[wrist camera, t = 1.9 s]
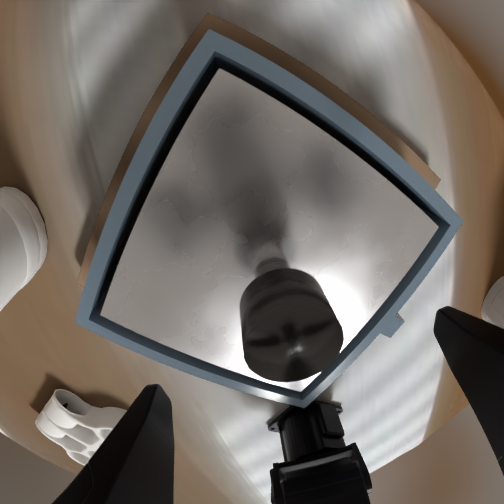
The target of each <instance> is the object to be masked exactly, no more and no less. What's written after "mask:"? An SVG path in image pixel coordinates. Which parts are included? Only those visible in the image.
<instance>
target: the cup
mask: <svg viewBox="0 0 504 504" xmlns="http://www.w3.org/2000/svg"><path fill="white" fill-rule="evenodd" d="M481 316H482V318H483V319H484V320H485V321H487V322H489V323H491V324H494V325H496V326H499V327H501V328H503V329H504V276H502V277H501V278H499V279H498V280H497V281H496V282H495V283H494V285H493V286H492V287H491V288H490V290H489V292H488V293H487V295H486V297H485V299H484V301H483V304H482V308H481Z"/></svg>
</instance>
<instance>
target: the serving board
mask: <svg viewBox="0 0 504 504" xmlns="http://www.w3.org/2000/svg"><path fill="white" fill-rule="evenodd" d="M209 29H210V30H212V31H214V32H216V33H218V34H220V35H223V36H225V37H227V38H229V39H231V40H233V41H235V42H237V43H239V44H241V45H242V46H244V47H246V48H248V49H250V50H252V51H254V52H256V53H257V54H259V55H261V56H263V57H265V58H266V59H268V60H270V61H271V62H273V63H275V64H277V65H278V66H280V67H282V68H283V69H285V70H287V71H288V72H290V73H291V74H293V75H295V76H296V77H298V78H299V79H301V80H302V81H304V82H305V83H307V84H308V85H310V86H311V87H313V88H314V89H316V90H317V91H319V92H320V93H322V94H323V95H325V96H326V97H327V98H329V99H330V100H332V101H333V102H334V103H336V104H337V105H338V106H340V107H341V108H343V109H344V110H345V111H347V112H348V113H349V114H350V115H352V116H353V117H354V118H356V119H357V120H358V121H359V122H361V123H362V124H363V125H364V126H366V127H367V128H368V129H369V130H371V131H372V132H373V133H374V134H375V135H377V136H378V137H379V138H380V139H381V140H382V141H384V142H385V143H386V144H387V145H388V146H389V147H391V148H392V149H393V150H394V151H395V152H396V153H397V154H398V155H399V156H401V157H402V158H403V159H404V160H405V161H406V162H407V163H408V164H409V165H410V166H411V167H412V168H413V169H414V170H415V171H416V172H418V173H419V174H420V175H421V176H422V177H423V178H424V179H425V180H426V181H427V182H428V183H429V184H430V185H431V186H432V188H433V189H434V190H435V189H436V187H437V185H438V184H439V182H440V180H441V179H440V178H439V177H438V176H437V175H436V174H435V173H434V172H433V171H432V170H431V169H430V168H429V167H428V166H427V164H426V163H425V162H424V161H423V160H422V159H421V158H420V157H419V156H418V155H417V154H416V153H415V152H414V151H412V150H411V149H410V148H409V147H408V146H407V145H406V144H405V143H404V142H403V141H402V140H401V139H400V138H399V137H398V136H397V135H395V134H394V133H393V132H392V131H391V130H390V129H389V128H388V127H386V126H385V125H384V124H383V123H382V122H381V121H379V120H378V119H377V118H376V117H375V116H374V115H372V114H371V113H370V112H369V111H368V110H366V109H365V108H364V107H363V106H361V105H360V104H359V103H358V102H356V101H355V100H354V99H352V98H351V97H350V96H348V95H347V94H346V93H344V92H343V91H342V90H340V89H339V88H338V87H336V86H335V85H334V84H332V83H331V82H329V81H328V80H327V79H325V78H324V77H322V76H321V75H319V74H318V73H316V72H315V71H313V70H312V69H310V68H309V67H307V66H306V65H304V64H303V63H301V62H300V61H298V60H296V59H295V58H293V57H292V56H290V55H288V54H287V53H285V52H283V51H282V50H280V49H278V48H277V47H275V46H273V45H271V44H270V43H268V42H266V41H264V40H262V39H261V38H259V37H257V36H255V35H253V34H251V33H249V32H247V31H245V30H243V29H241V28H239V27H237V26H235V25H233V24H231V23H229V22H227V21H225V20H223V19H221V18H218V17H216V16H214V15H212V14H209V13H207V15H206V16H205V17H204V19H203V20H202V21H201V23H200V24H199V25H198V27H197V28H196V30H195V31H194V32H193V34H192V35H191V37H190V38H189V39H188V41H187V42H186V44H185V45H184V47H183V48H182V50H181V51H180V53H179V54H178V56H177V57H176V59H175V60H174V62H173V64H172V65H171V67H170V68H169V70H168V72H167V73H166V75H165V77H164V78H163V80H162V82H161V83H160V85H159V87H158V88H157V90H156V92H155V94H154V95H153V97H152V99H151V101H150V102H149V104H148V106H147V108H146V110H145V112H144V114H143V115H142V117H141V119H140V121H139V123H138V125H137V127H136V129H135V131H134V133H133V135H132V137H131V139H130V141H129V143H128V145H127V147H126V150H125V152H124V154H123V156H122V158H121V160H120V163H119V165H118V167H117V169H116V172H115V174H114V176H113V179H112V181H111V184H110V186H109V188H108V191H107V193H106V196H105V198H104V201H103V204H102V206H101V209H100V212H99V214H98V217H97V220H96V223H95V225H94V228H93V231H92V234H91V237H90V240H89V243H88V246H87V250H86V253H85V256H84V259H83V263H82V266H81V269H80V273H79V277H78V280H77V284H78V285H80V286H82V287H84V286H85V283H86V279H87V276H88V272H89V269H90V266H91V263H92V260H93V257H94V254H95V251H96V248H97V245H98V242H99V239H100V236H101V234H102V231H103V228H104V225H105V223H106V220H107V217H108V215H109V212H110V210H111V207H112V205H113V202H114V200H115V197H116V195H117V192H118V190H119V188H120V185H121V183H122V181H123V179H124V176H125V174H126V172H127V170H128V167H129V165H130V163H131V161H132V159H133V157H134V155H135V152H136V150H137V148H138V146H139V144H140V142H141V140H142V138H143V136H144V134H145V132H146V130H147V128H148V127H149V125H150V123H151V121H152V119H153V117H154V115H155V114H156V112H157V110H158V108H159V106H160V104H161V103H162V101H163V99H164V97H165V96H166V94H167V92H168V91H169V89H170V87H171V86H172V84H173V82H174V81H175V79H176V77H177V76H178V74H179V73H180V71H181V69H182V68H183V66H184V65H185V63H186V62H187V60H188V58H189V57H190V55H191V54H192V52H193V51H194V49H195V48H196V47H197V45H198V44H199V42H200V41H201V39H202V38H203V37H204V35H205V34H206V32H207V31H208V30H209Z"/></svg>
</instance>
